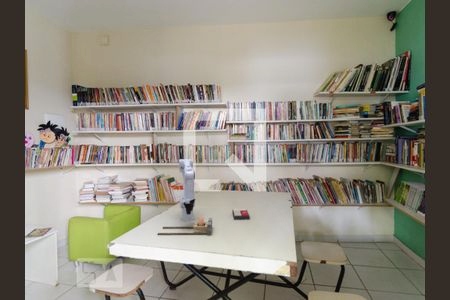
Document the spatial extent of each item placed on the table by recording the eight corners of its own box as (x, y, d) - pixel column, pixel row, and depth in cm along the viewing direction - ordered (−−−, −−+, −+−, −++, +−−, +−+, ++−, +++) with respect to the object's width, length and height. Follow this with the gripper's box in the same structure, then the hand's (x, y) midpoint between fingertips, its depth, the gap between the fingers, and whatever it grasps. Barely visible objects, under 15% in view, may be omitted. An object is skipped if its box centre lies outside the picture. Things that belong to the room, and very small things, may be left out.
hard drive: (234, 215, 144) (232, 208, 159) (234, 221, 144) (232, 213, 159) (249, 215, 145) (246, 207, 160) (249, 221, 145) (246, 213, 160)
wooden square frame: (195, 228, 125) (195, 222, 125) (208, 228, 125) (208, 222, 125) (193, 234, 117) (193, 227, 117) (207, 234, 116) (207, 227, 117)
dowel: (198, 230, 122) (198, 217, 122) (204, 230, 122) (203, 217, 122) (198, 232, 119) (198, 218, 119) (203, 232, 119) (203, 218, 119)
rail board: (163, 229, 127) (163, 218, 127) (212, 229, 126) (212, 217, 127) (156, 238, 115) (156, 225, 115) (210, 237, 114) (210, 224, 115)
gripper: (185, 188, 135) (185, 209, 134) (180, 192, 120) (180, 216, 120) (196, 188, 135) (196, 209, 134) (192, 192, 120) (192, 215, 120)
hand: (189, 212), depth 127 cm, fingers open, 7 cm apart
